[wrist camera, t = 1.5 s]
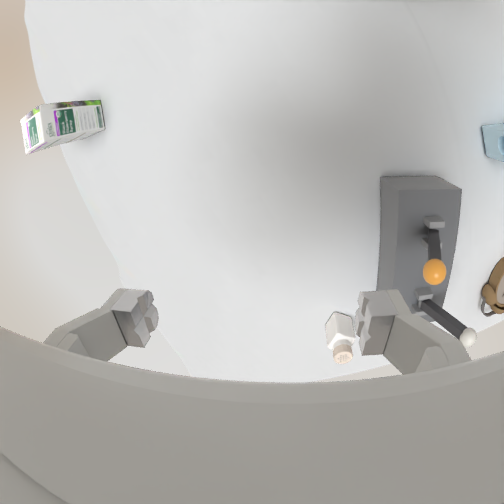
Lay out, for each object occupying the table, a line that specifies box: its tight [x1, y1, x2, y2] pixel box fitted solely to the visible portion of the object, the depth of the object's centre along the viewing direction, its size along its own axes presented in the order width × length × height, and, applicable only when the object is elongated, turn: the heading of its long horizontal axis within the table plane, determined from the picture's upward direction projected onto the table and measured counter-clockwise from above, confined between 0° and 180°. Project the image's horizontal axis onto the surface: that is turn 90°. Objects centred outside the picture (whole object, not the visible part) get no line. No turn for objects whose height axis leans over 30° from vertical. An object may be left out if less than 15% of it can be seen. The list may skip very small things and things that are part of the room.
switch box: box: [376, 176, 462, 322], centre depth 36 cm, size 10×22×10 cm, turn 9°
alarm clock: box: [481, 257, 504, 317], centre depth 38 cm, size 11×5×15 cm
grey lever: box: [418, 299, 477, 347], centre depth 30 cm, size 3×3×12 cm
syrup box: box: [20, 100, 105, 154], centre depth 31 cm, size 6×6×14 cm
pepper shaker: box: [325, 312, 355, 364], centre depth 45 cm, size 4×4×10 cm
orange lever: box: [423, 228, 446, 285], centre depth 26 cm, size 3×3×12 cm
